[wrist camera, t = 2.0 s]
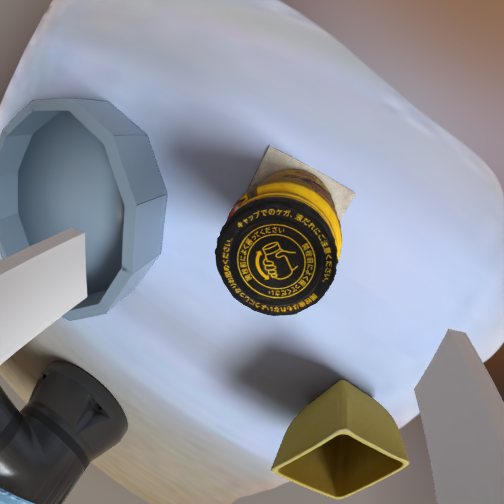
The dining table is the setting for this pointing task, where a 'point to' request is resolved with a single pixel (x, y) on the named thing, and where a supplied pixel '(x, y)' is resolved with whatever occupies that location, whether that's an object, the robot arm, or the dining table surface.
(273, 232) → the condiment
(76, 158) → the bowl
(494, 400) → the robot arm
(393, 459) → the flower pot
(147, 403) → the dining table surface
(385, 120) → the dining table surface
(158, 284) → the dining table surface
